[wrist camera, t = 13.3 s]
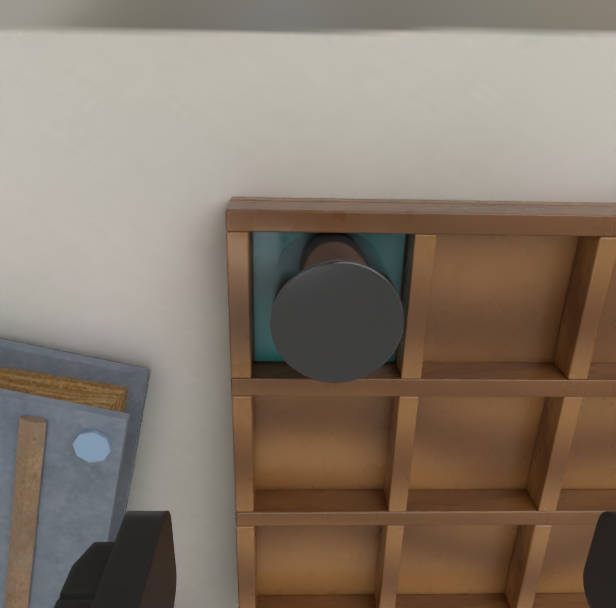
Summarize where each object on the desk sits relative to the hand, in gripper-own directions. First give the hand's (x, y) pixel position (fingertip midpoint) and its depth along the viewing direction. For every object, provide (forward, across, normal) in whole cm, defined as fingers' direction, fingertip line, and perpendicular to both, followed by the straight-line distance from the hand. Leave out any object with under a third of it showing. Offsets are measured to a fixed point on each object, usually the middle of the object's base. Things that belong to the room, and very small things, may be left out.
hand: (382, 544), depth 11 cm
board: (+14, -6, +7) cm, 16 cm away
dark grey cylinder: (+13, 0, 0) cm, 13 cm away
